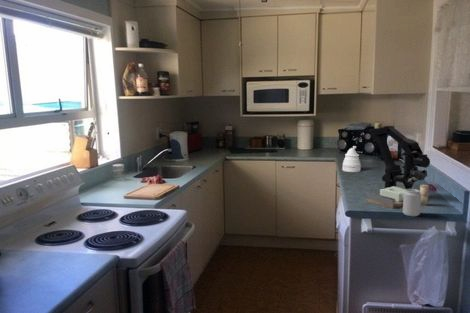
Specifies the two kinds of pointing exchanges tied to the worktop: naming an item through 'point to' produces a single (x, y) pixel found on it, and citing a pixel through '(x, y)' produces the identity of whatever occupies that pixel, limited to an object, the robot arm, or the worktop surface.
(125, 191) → the worktop surface
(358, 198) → the worktop surface
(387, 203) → the board
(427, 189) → the dowel
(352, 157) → the honey pot
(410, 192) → the can
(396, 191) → the block
